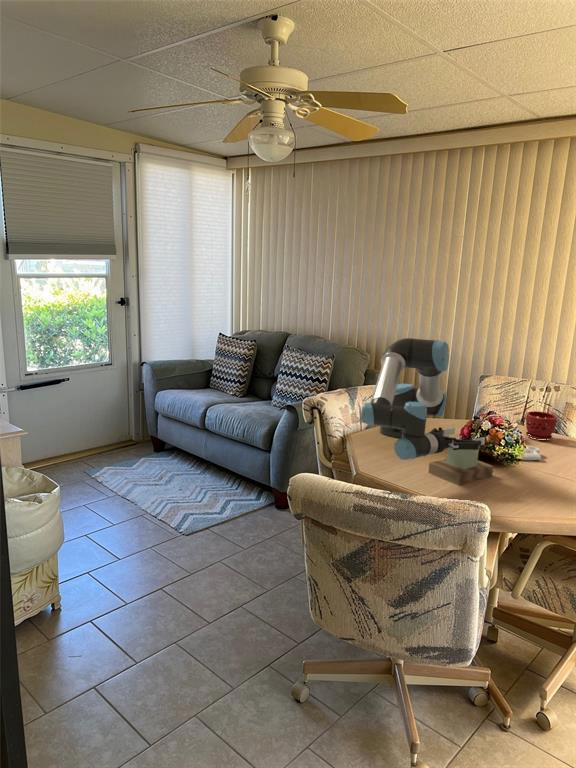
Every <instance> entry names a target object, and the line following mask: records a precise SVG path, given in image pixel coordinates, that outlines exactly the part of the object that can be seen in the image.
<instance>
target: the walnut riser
mask: <svg viewBox="0 0 576 768" xmlns="http://www.w3.org/2000/svg"><path fill="white" fill-rule="evenodd" d="M428 465H429V466H428V473H429V474H431V475H432V476H435V477H438V478H440V479H442V480H445V481H448V482H450V483H451V484H454V485H457V486H461V485H464V484H467V483H471V482H474V481H478V480H482V479H486V478H489V477H493V472H494V465H491V464H489V463H486V462H483V461H480V460H477V466H475V467H471V468H467V469H461V468H458V467H456V466H453V465H450V464H448V463H446V458H445V459H444V458H443V459H441V460H436V461H433V462H429V464H428Z"/></svg>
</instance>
